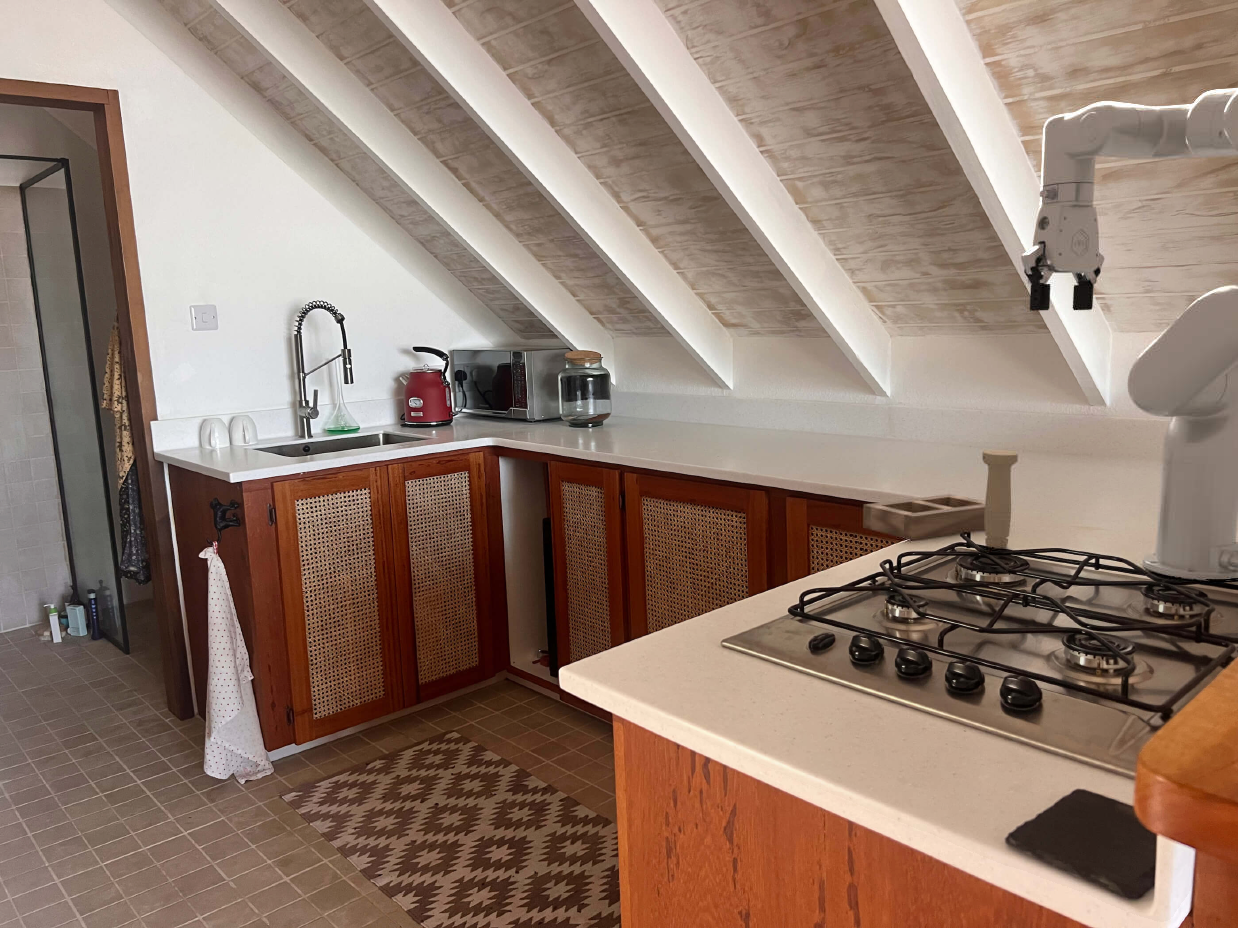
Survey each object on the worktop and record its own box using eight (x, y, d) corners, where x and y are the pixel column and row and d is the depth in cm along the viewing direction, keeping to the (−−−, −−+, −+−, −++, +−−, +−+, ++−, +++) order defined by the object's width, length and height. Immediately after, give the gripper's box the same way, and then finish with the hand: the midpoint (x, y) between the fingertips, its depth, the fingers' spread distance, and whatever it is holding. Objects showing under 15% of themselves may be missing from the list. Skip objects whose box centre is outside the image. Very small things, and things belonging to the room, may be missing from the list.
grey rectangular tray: (1000, 527, 165) (1001, 504, 164) (912, 540, 156) (912, 516, 156) (948, 515, 176) (949, 494, 175) (863, 527, 167) (863, 504, 166)
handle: (1005, 542, 154) (1009, 449, 152) (1018, 551, 147) (1022, 455, 145) (974, 542, 154) (978, 449, 152) (986, 551, 148) (990, 455, 146)
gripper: (1047, 192, 141) (1042, 310, 144) (1125, 198, 149) (1119, 309, 151) (1006, 199, 148) (1002, 311, 150) (1083, 203, 155) (1078, 310, 158)
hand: (1061, 310), depth 151 cm, fingers open, 9 cm apart
